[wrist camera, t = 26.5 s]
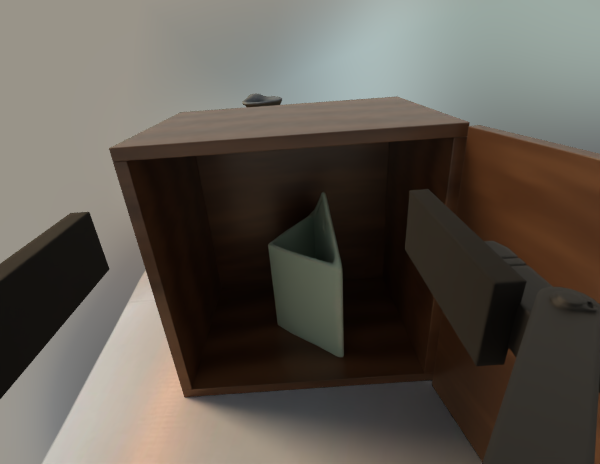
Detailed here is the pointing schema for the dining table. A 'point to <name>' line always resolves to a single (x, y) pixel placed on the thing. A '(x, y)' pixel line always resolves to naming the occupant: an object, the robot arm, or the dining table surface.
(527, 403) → the robot arm
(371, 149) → the cupboard
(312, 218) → the planter
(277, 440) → the dining table surface
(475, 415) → the cupboard door
